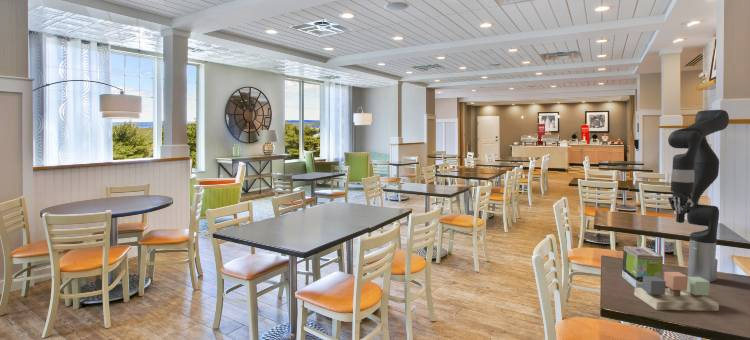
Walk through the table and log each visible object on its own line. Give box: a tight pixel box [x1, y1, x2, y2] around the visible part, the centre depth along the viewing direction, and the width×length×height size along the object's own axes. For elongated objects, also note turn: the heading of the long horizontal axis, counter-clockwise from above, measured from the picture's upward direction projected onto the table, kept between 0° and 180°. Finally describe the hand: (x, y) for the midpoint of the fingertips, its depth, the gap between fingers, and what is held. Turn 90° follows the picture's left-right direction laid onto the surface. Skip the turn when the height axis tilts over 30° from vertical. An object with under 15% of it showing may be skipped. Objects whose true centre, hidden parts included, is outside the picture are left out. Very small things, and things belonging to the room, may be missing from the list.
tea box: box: [621, 245, 664, 289], centre depth 176 cm, size 15×10×15 cm, turn 168°
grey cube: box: [643, 276, 666, 295], centre depth 157 cm, size 5×5×5 cm
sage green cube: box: [686, 277, 711, 296], centre depth 156 cm, size 5×5×5 cm
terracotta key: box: [663, 271, 688, 290], centre depth 156 cm, size 5×5×5 cm
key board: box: [634, 287, 720, 312], centre depth 157 cm, size 22×14×7 cm, turn 87°
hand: (680, 222), depth 167 cm, fingers closed
